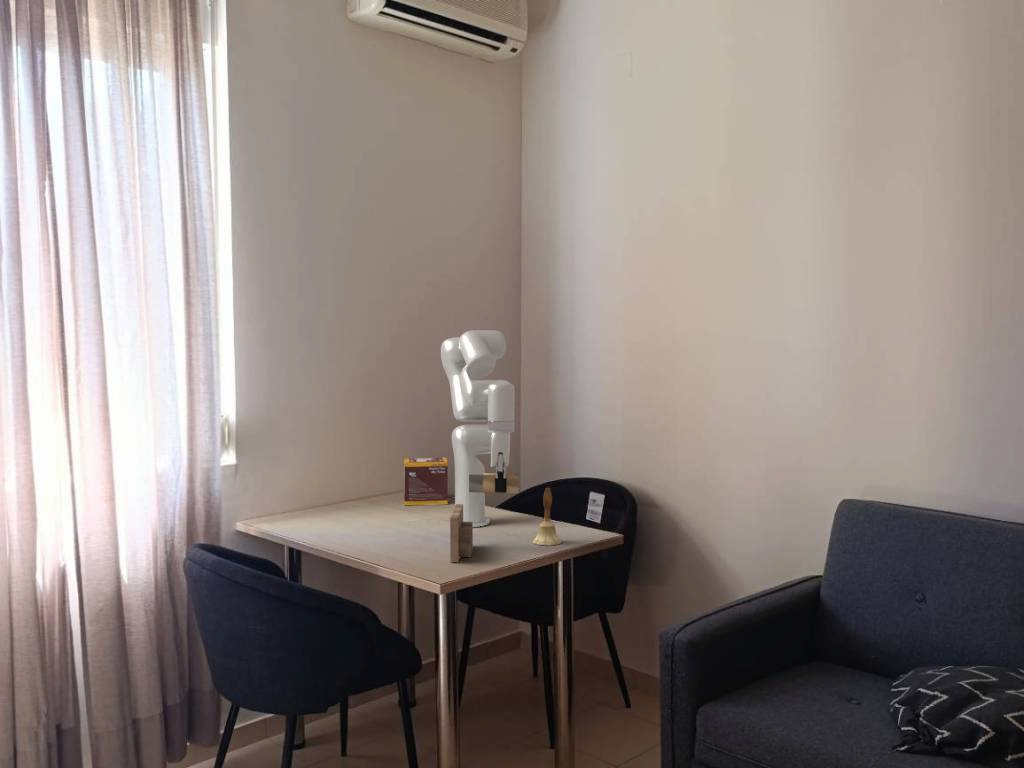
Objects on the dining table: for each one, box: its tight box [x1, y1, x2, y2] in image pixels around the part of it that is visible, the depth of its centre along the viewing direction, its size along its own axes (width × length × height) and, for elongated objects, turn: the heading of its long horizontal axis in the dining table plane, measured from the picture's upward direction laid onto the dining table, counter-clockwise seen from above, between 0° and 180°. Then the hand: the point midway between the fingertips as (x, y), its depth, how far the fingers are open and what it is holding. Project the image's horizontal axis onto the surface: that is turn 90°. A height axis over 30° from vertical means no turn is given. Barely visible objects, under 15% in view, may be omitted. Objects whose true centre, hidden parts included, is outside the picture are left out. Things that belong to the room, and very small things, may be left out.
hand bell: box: [532, 487, 562, 547], centre depth 272 cm, size 8×8×16 cm
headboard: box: [449, 504, 474, 563], centre depth 259 cm, size 20×5×12 cm, turn 179°
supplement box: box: [403, 456, 449, 506], centre depth 335 cm, size 10×15×16 cm
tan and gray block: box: [469, 472, 520, 494], centre depth 266 cm, size 4×14×5 cm, turn 89°
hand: (500, 490), depth 266 cm, fingers closed on tan and gray block, 3 cm apart
